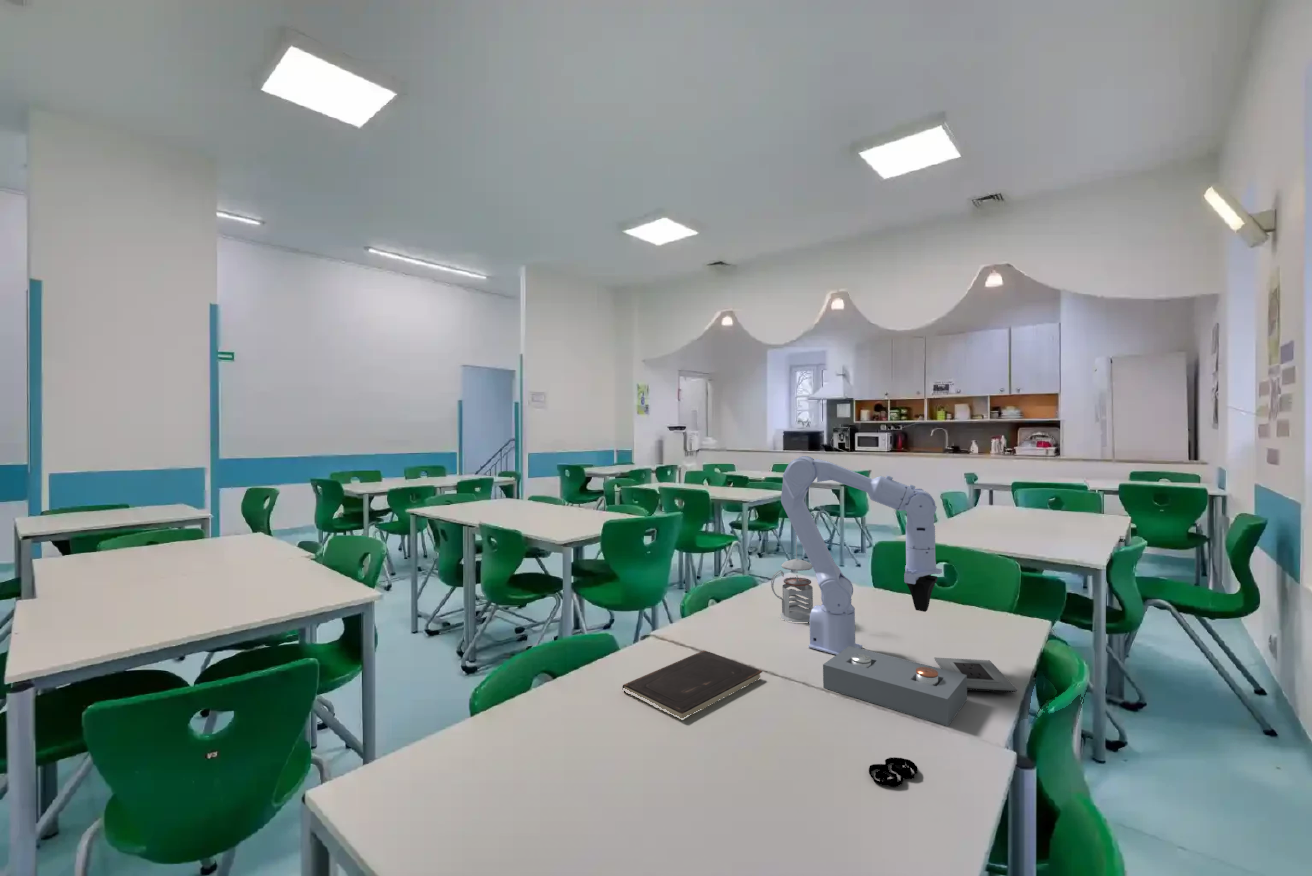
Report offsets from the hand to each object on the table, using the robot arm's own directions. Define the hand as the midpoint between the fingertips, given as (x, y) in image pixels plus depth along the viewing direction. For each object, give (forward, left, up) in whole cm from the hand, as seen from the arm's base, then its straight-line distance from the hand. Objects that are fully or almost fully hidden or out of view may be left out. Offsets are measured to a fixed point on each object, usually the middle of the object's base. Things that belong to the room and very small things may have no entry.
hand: (921, 610), depth 121 cm
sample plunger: (-5, -20, -10) cm, 23 cm away
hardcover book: (-30, -41, -11) cm, 52 cm away
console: (+1, -20, -10) cm, 23 cm away
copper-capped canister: (+7, -20, -9) cm, 23 cm away
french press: (-34, +7, -11) cm, 36 cm away
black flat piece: (+10, -45, -11) cm, 47 cm away
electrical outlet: (+11, -5, -11) cm, 16 cm away
